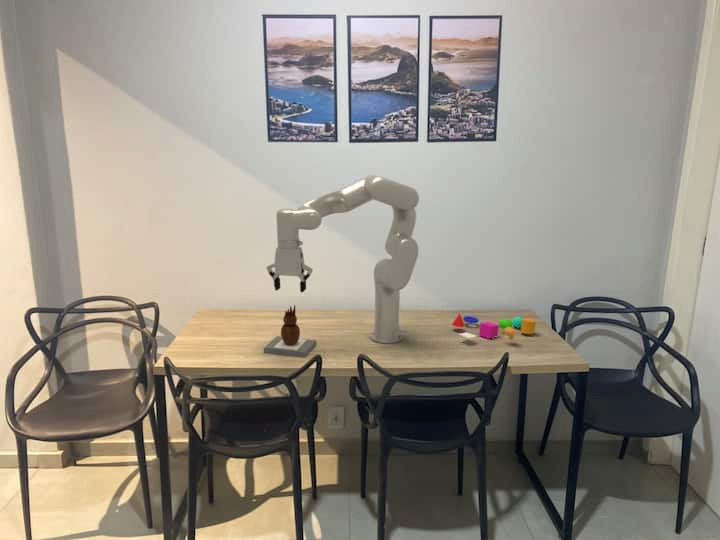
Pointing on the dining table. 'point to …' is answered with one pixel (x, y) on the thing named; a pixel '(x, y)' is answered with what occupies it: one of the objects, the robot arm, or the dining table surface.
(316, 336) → the dining table surface
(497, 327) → the shape set
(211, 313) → the dining table surface
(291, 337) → the wooden figurine
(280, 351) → the display base
